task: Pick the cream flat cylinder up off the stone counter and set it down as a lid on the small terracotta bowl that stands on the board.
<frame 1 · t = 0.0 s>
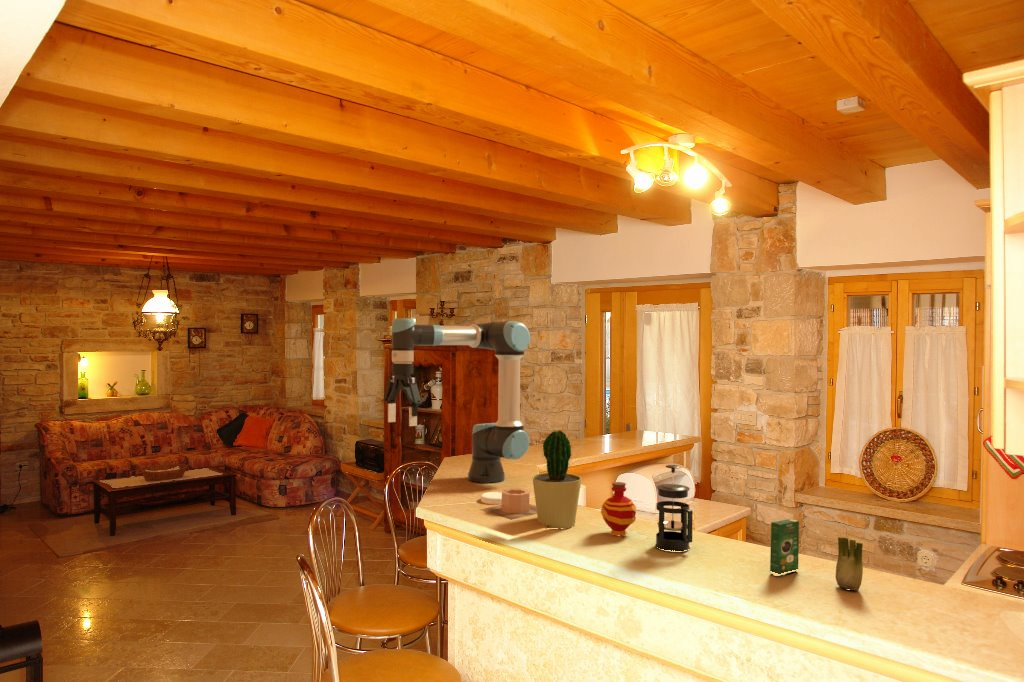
hand: (402, 423, 236), 28 cm above the table, tool pointing down, fingers open, 13 cm apart
fennel bulb: (848, 590, 159), on the table
french press: (673, 548, 190), on the table
board: (515, 513, 225), on the table
potted cactus: (556, 525, 213), on the table
cream flat cylinder: (495, 505, 238), on the table
potion bottle: (618, 534, 203), on the table
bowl: (515, 509, 225), resting on board
coffee box: (784, 574, 170), on the table
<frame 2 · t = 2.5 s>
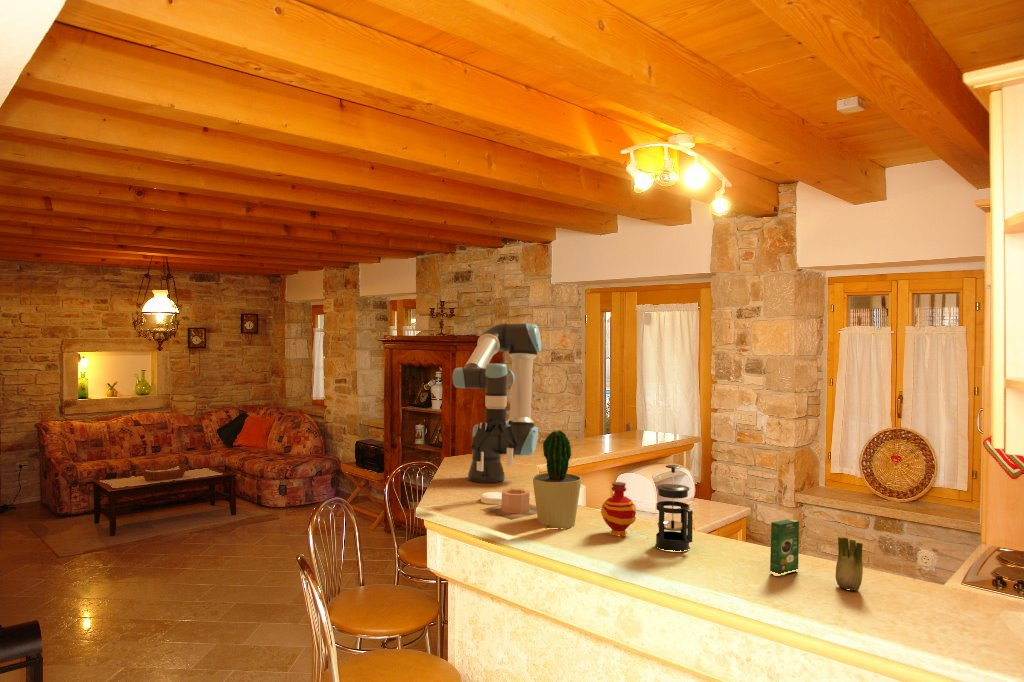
hand: (495, 468, 237), 12 cm above the table, tool pointing down, fingers open, 13 cm apart
nothing on the table moved.
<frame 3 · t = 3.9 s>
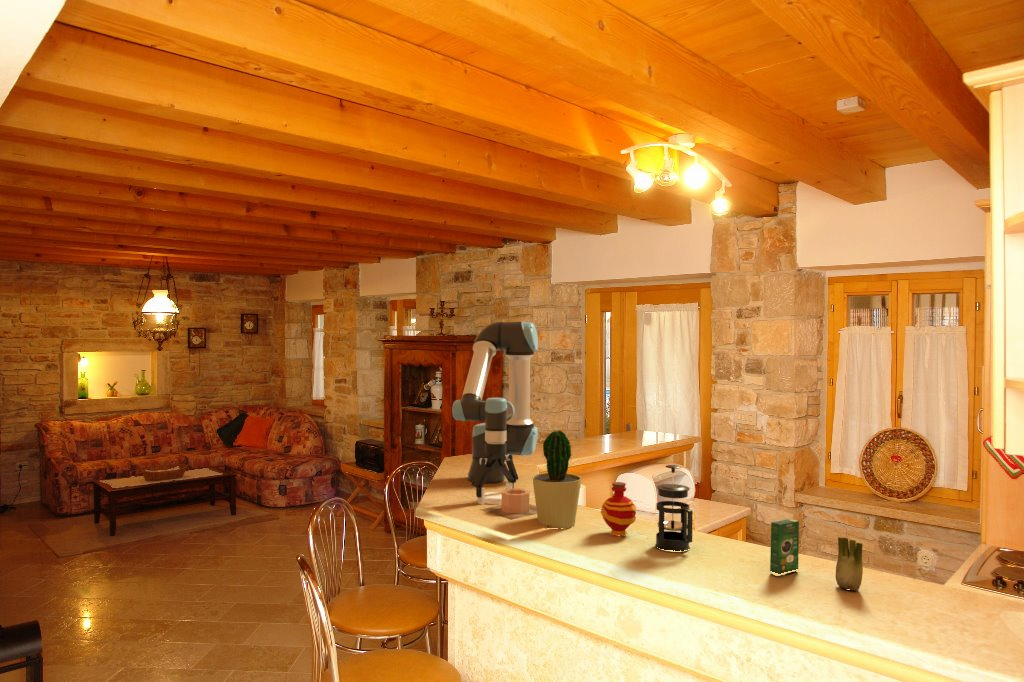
hand: (495, 503, 238), 0 cm above the table, tool pointing down, fingers open, 12 cm apart
nothing on the table moved.
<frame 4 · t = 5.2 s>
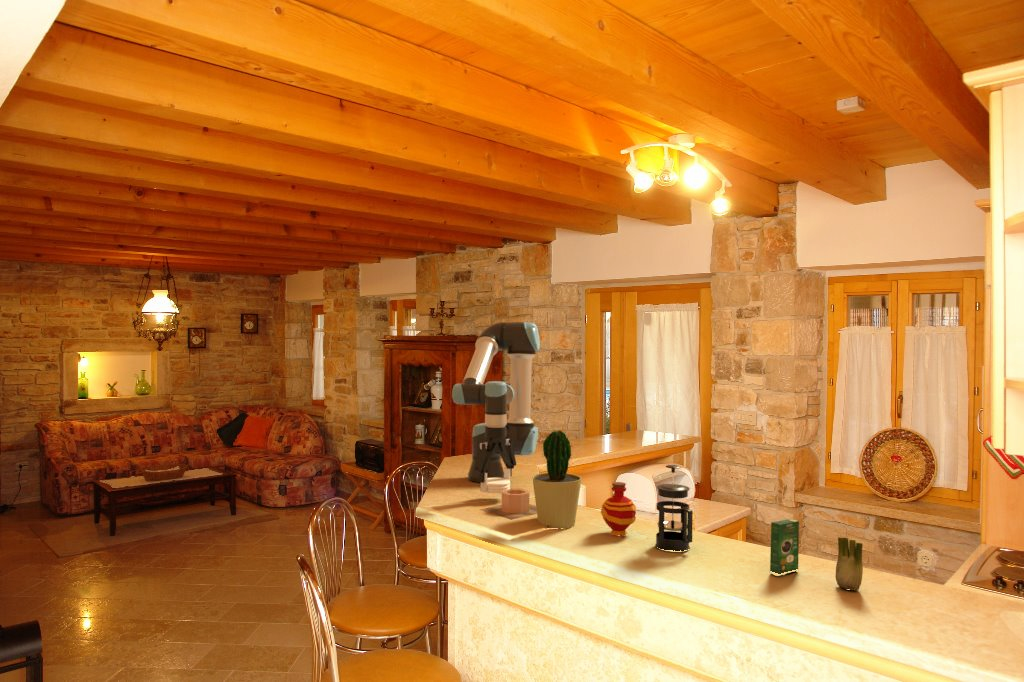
hand: (495, 488, 238), 5 cm above the table, tool pointing down, fingers closed on cream flat cylinder, 10 cm apart
cream flat cylinder: (495, 490, 239), point 5 cm above the table, touching gripper
everything else where it was.
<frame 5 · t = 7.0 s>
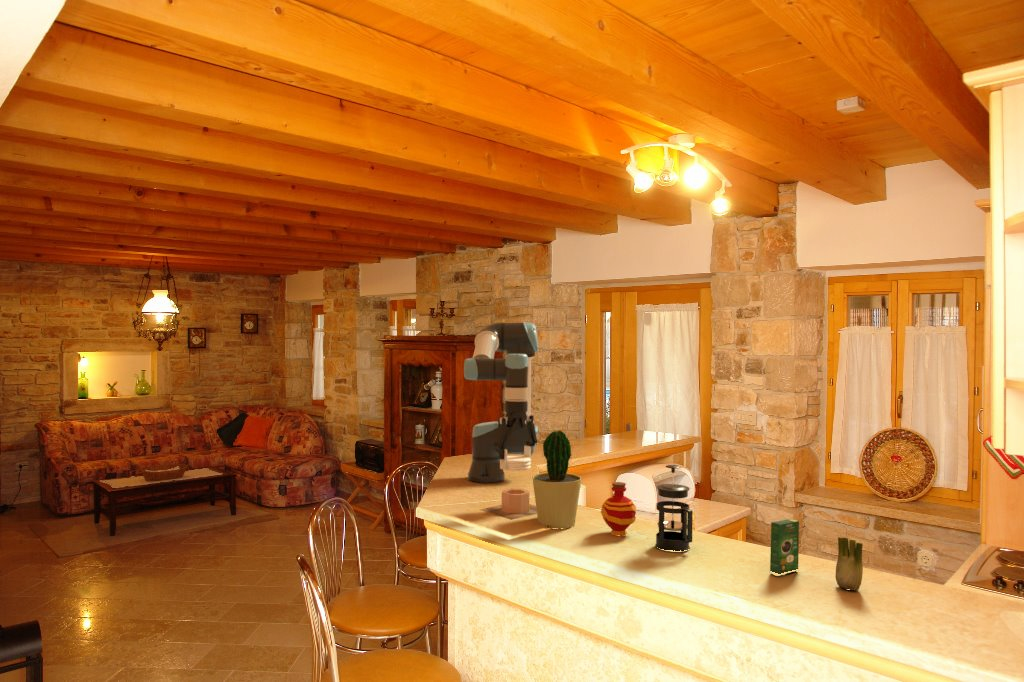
hand: (515, 467, 225), 15 cm above the table, tool pointing down, fingers closed on cream flat cylinder, 10 cm apart
cream flat cylinder: (515, 469, 225), point 15 cm above the table, touching gripper
everything else where it was.
when the fingers open (8 cm above the table, at t = 8.9 s): cream flat cylinder stays where it is, resting on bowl.
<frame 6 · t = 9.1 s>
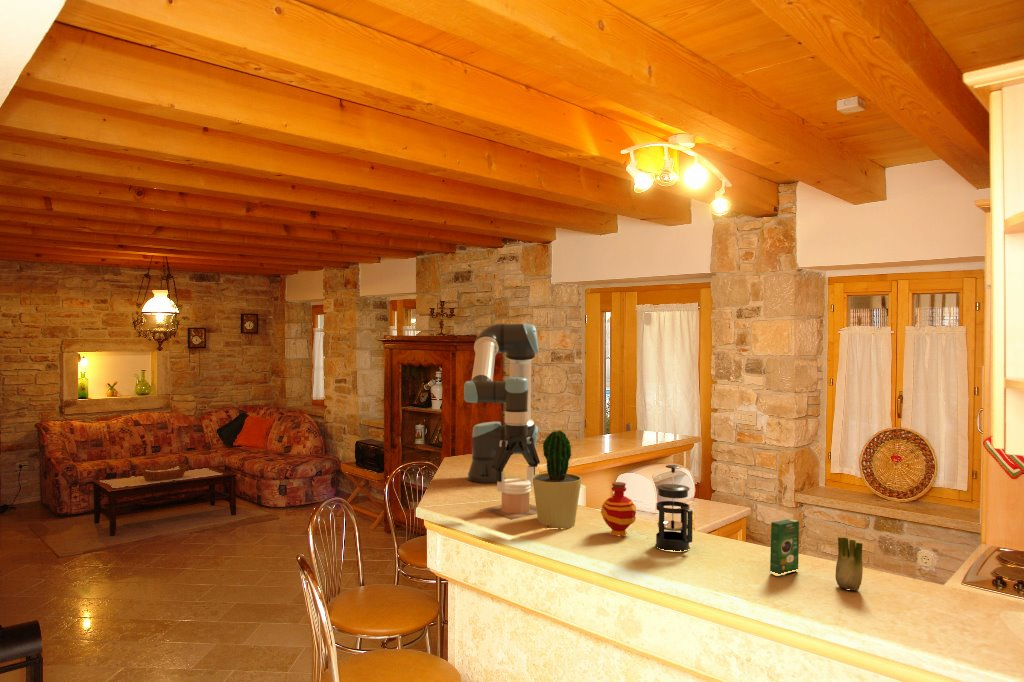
hand: (515, 488, 225), 8 cm above the table, tool pointing down, fingers open, 12 cm apart
cream flat cylinder: (515, 492, 225), point 7 cm above the table, touching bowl
everything else where it was.
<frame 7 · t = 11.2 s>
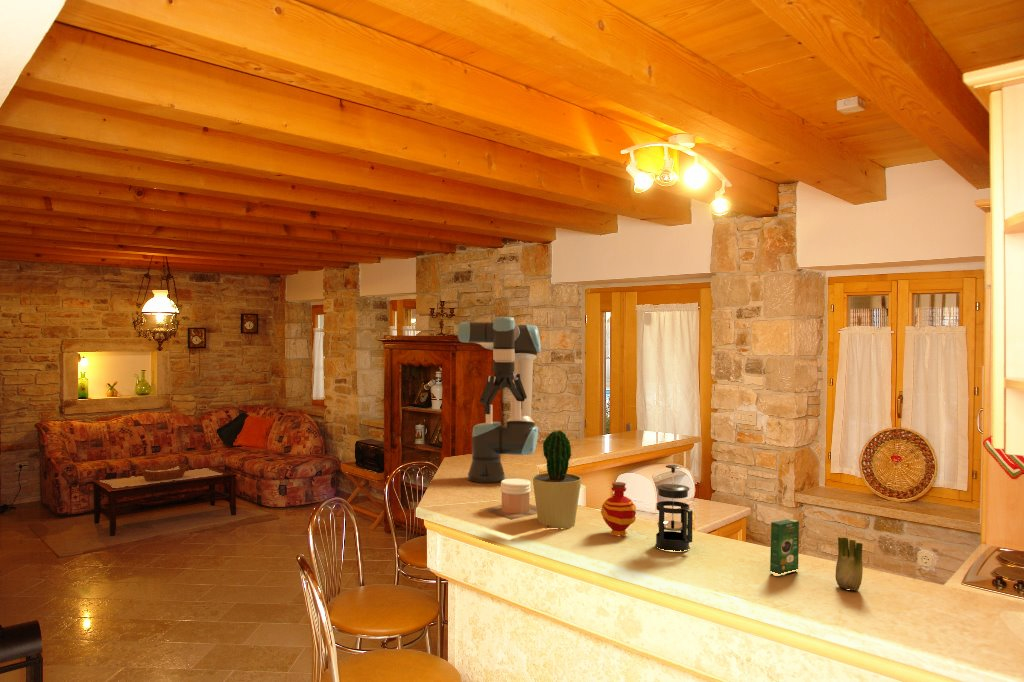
hand: (503, 421, 239), 29 cm above the table, tool pointing down, fingers open, 13 cm apart
nothing on the table moved.
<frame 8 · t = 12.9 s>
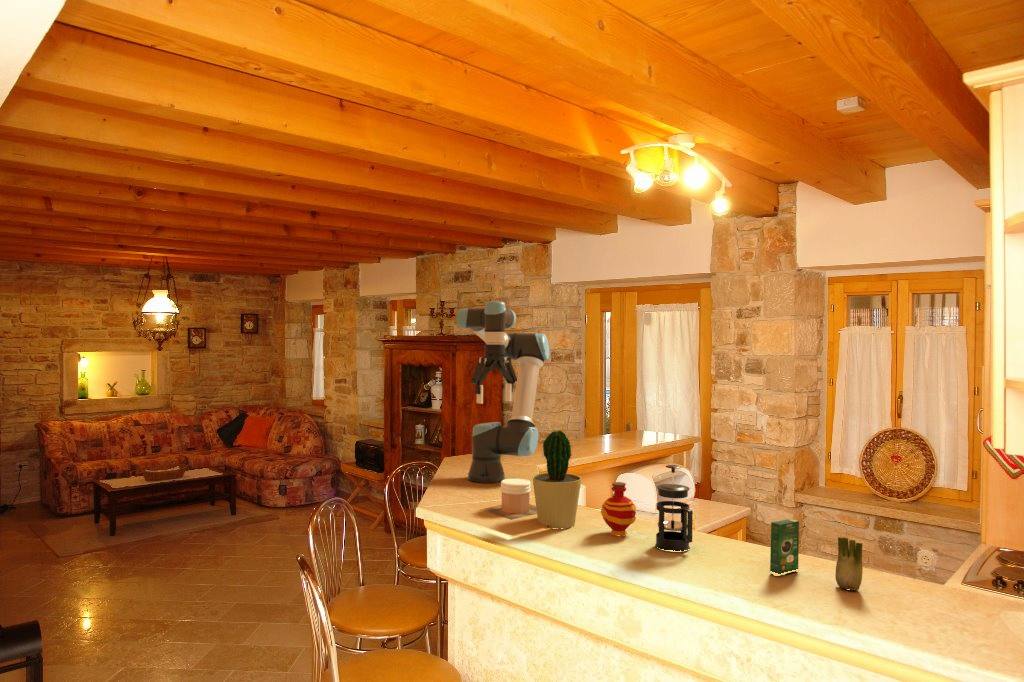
hand: (494, 402, 248), 35 cm above the table, tool pointing down, fingers open, 13 cm apart
nothing on the table moved.
at the end: cream flat cylinder 0.1 cm off-centre on the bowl, point 5.8 cm above the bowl's base; cream flat cylinder tilted 0°; the gripper is holding nothing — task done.
